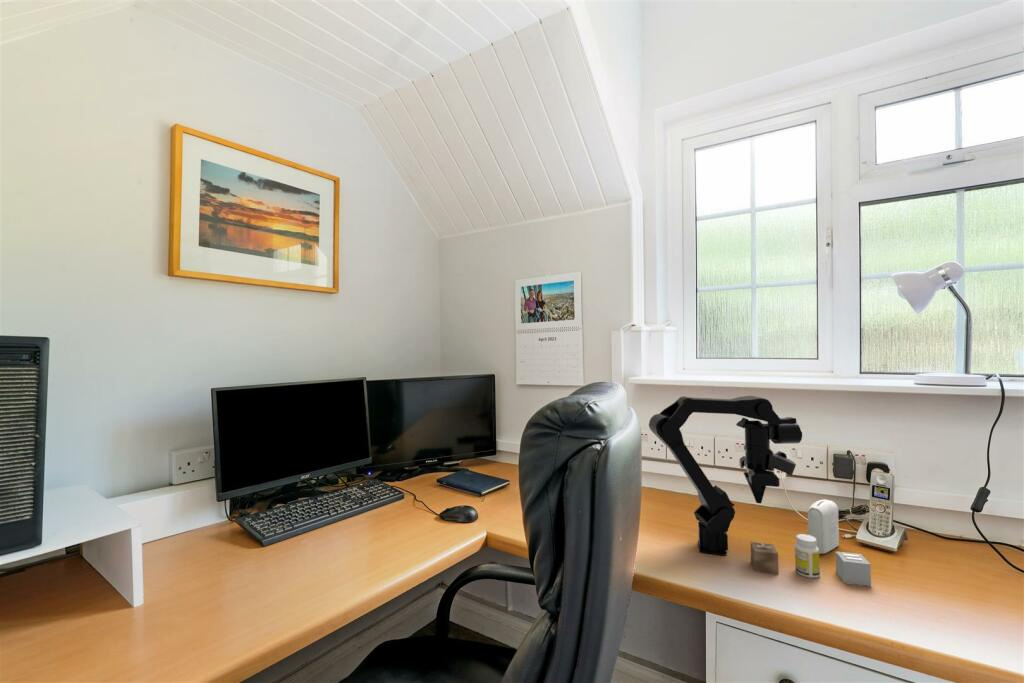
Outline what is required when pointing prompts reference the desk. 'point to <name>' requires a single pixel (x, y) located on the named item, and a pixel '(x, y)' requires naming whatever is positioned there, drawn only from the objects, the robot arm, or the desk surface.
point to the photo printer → (824, 525)
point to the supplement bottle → (807, 556)
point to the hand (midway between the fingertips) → (758, 502)
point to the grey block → (853, 568)
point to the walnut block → (764, 558)
